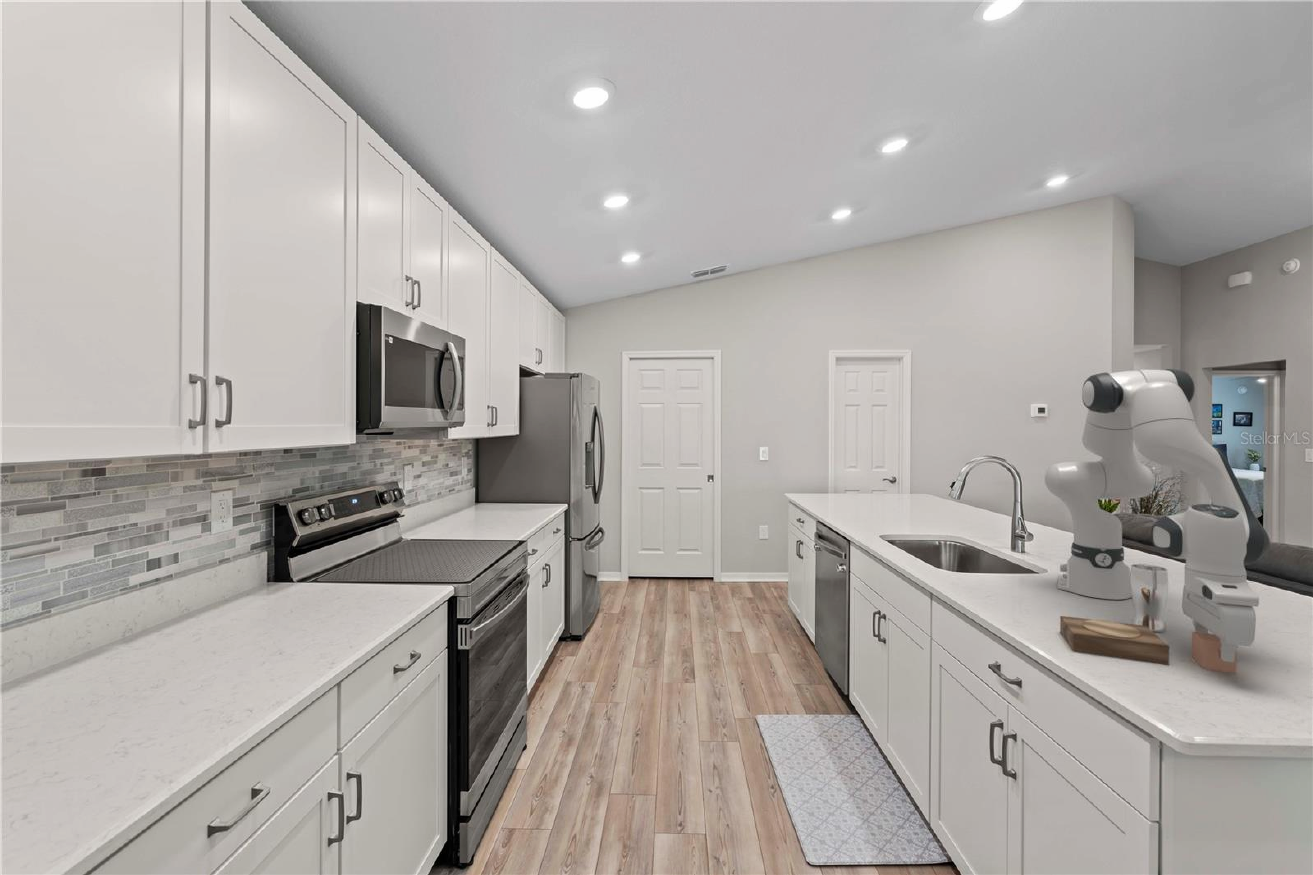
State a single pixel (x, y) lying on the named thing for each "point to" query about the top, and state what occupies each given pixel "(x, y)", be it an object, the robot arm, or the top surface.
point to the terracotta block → (1210, 653)
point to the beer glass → (1149, 595)
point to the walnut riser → (1114, 639)
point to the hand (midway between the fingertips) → (1214, 651)
